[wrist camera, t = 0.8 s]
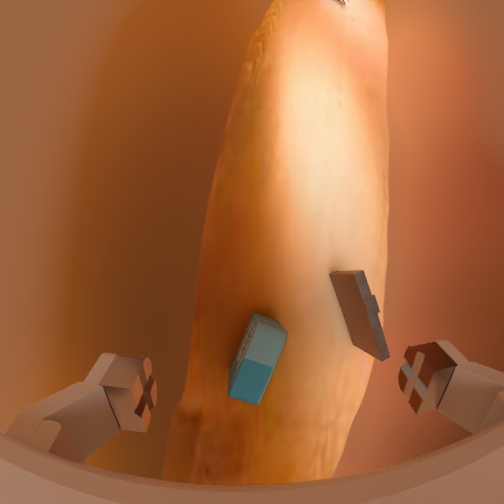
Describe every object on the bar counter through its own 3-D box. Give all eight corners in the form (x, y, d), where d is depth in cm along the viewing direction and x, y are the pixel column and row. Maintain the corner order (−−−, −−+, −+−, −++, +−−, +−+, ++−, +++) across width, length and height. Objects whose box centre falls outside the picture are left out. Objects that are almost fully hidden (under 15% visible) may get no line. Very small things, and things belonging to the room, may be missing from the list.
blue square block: (253, 311, 51) (257, 322, 39) (277, 319, 51) (289, 333, 39) (228, 372, 50) (226, 399, 38) (252, 381, 50) (257, 409, 38)
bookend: (373, 334, 52) (405, 347, 40) (353, 344, 51) (381, 361, 39) (350, 264, 52) (380, 262, 40) (328, 274, 52) (354, 274, 40)
